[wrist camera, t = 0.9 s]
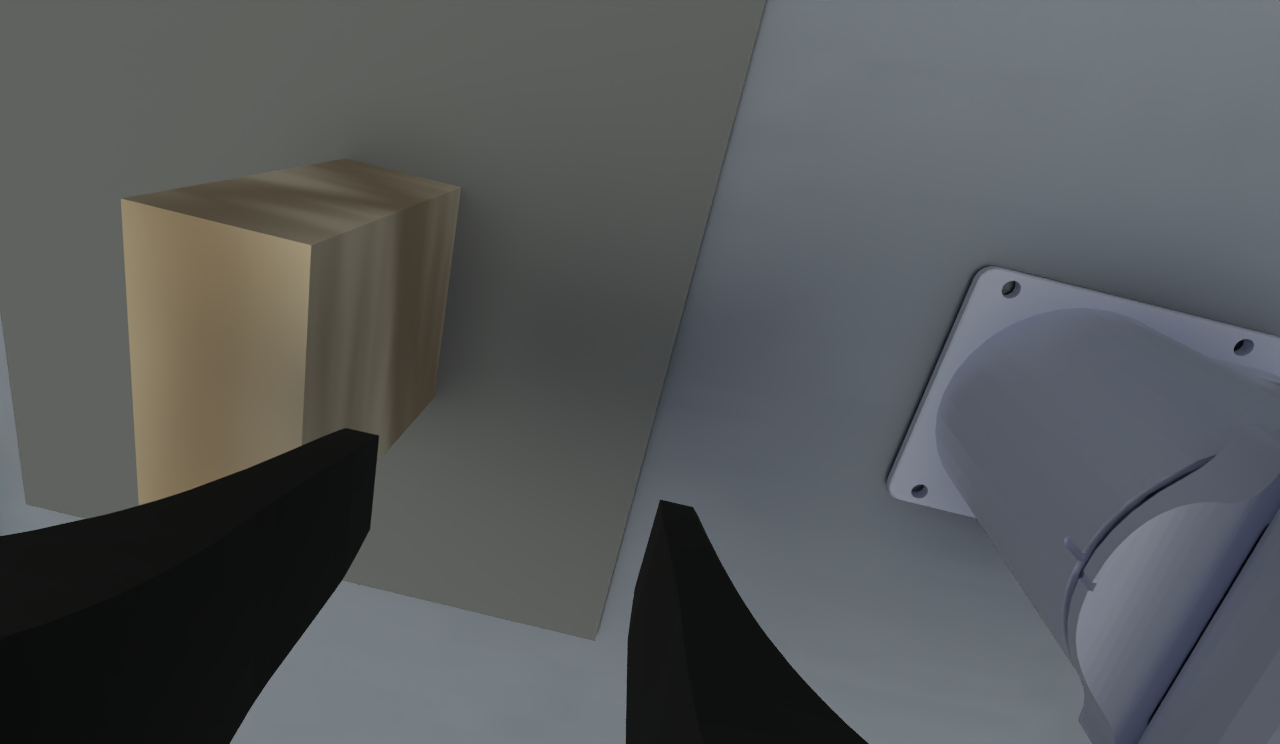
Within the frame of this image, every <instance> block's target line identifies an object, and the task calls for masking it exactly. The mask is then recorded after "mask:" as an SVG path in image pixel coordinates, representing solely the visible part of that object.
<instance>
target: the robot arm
mask: <svg viewBox="0 0 1280 744" xmlns="http://www.w3.org/2000/svg"><path fill="white" fill-rule="evenodd" d="M1009 281H1014V282H1015V288H1014V290H1013V291H1012V292H1011V293H1009V294H1007V295H1003V294H1002V287H1003V286H1004V285H1005V283H1007V282H1009ZM1243 339H1244V343H1243V345H1242V347H1241V348H1240V349H1238V350H1236V351H1234V347H1235V345H1236V344H1237V343H1238V342H1239V341H1241V340H1243ZM378 444H379V435H375V434H370V433H366V432H362V431H357V430H353V429H349V428H344V429H341V430H338V431H335V432H333V433H330V434H328V435H325V436H323V437H320V438H318V439H316V440H313V441H311V442H309V443H306V444H304V445H302V446H299V447H297V448H295V449H292V450H290V451H288V452H285V453H283V454H281V455H278V456H276V457H273V458H271V459H269V460H266V461H264V462H261V463H259V464H257V465H254V466H252V467H249V468H247V469H244V470H242V471H239V472H236V473H234V474H231V475H228V476H226V477H223V478H220V479H217V480H215V481H212V482H209V483H207V484H204V485H201V486H199V487H196V488H193V489H191V490H187V491H184V492H181V493H178V494H175V495H172V496H169V497H166V498H163V499H160V500H156V501H153V502H149V503H146V504H142V505H139V506H135V507H132V508H128V509H125V510H121V511H117V512H113V513H109V514H106V515H101V516H97V517H92V518H88V519H83V520H79V521H74V522H70V523H65V524H61V525H56V526H52V527H47V528H43V529H38V530H33V531H28V532H23V533H17V534H11V535H5V536H0V744H230V742H231V740H232V738H233V737H234V735H235V733H236V732H237V730H238V728H239V727H240V725H241V723H242V722H243V720H244V718H245V716H246V715H247V713H248V711H249V710H250V708H251V706H252V705H253V703H254V702H255V700H256V699H257V697H258V696H259V694H260V693H261V691H262V690H263V688H264V687H265V685H266V684H267V682H268V681H269V680H270V678H271V677H272V675H273V674H274V673H275V671H276V670H277V669H278V667H279V666H280V665H281V663H282V662H283V660H284V659H285V658H286V656H287V655H288V654H289V652H290V651H291V650H292V648H293V647H294V645H295V644H296V643H297V641H298V640H299V639H300V637H301V636H302V635H303V633H304V632H305V631H306V629H307V628H308V626H309V625H310V624H311V622H312V621H313V620H314V618H315V617H316V616H317V614H318V613H319V612H320V610H321V609H322V607H323V606H324V605H325V603H326V602H327V600H328V599H329V598H330V596H331V595H332V594H333V592H334V591H335V589H336V588H337V587H338V585H339V584H340V582H341V581H342V580H343V578H344V577H345V575H346V573H347V571H348V570H349V568H350V566H351V564H352V563H353V561H354V559H355V557H356V555H357V553H358V552H359V550H360V548H361V546H362V544H363V542H364V540H365V538H366V536H367V534H368V533H369V531H370V526H371V516H372V506H373V495H374V485H375V475H376V464H377V454H378ZM918 484H920V485H924V488H923V489H922V490H920V491H918V492H912V488H913V487H914V486H916V485H918ZM887 487H888V490H889V492H890V494H891V495H892V496H893V497H894V498H896V499H899V500H902V501H906V502H911V503H915V504H919V505H923V506H927V507H931V508H935V509H939V510H943V511H947V512H951V513H956V514H960V515H964V516H968V517H972V518H976V519H977V520H978V522H979V523H980V525H981V526H982V528H983V529H984V531H985V532H986V534H987V535H988V537H989V538H990V540H991V541H992V543H993V545H994V546H995V548H996V549H997V551H998V552H999V554H1000V555H1001V557H1002V558H1003V560H1004V561H1005V563H1006V564H1007V566H1008V567H1009V569H1010V570H1011V572H1012V573H1013V575H1014V576H1015V578H1016V580H1017V581H1018V583H1019V584H1020V586H1021V587H1022V589H1023V590H1024V592H1025V593H1026V595H1027V596H1028V598H1029V599H1030V601H1031V602H1032V604H1033V605H1034V607H1035V608H1036V610H1037V612H1038V613H1039V615H1040V616H1041V618H1042V619H1043V621H1044V622H1045V624H1046V625H1047V627H1048V628H1049V630H1050V631H1051V633H1052V634H1053V636H1054V637H1055V639H1056V640H1057V642H1058V644H1059V645H1060V647H1061V648H1062V650H1063V651H1064V653H1065V654H1066V656H1067V657H1068V659H1069V660H1070V662H1071V663H1072V665H1073V666H1074V668H1075V669H1076V671H1077V672H1078V674H1079V677H1080V679H1081V681H1082V684H1083V686H1084V694H1085V699H1084V706H1083V709H1082V711H1081V714H1080V716H1079V722H1080V724H1081V726H1082V727H1083V729H1084V731H1085V732H1086V734H1087V735H1088V737H1089V739H1090V740H1091V742H1092V744H1280V337H1278V336H1275V335H1271V334H1267V333H1263V332H1259V331H1255V330H1251V329H1247V328H1243V327H1239V326H1235V325H1231V324H1227V323H1223V322H1219V321H1215V320H1211V319H1207V318H1203V317H1198V316H1194V315H1190V314H1186V313H1182V312H1178V311H1174V310H1170V309H1166V308H1162V307H1158V306H1154V305H1150V304H1146V303H1142V302H1138V301H1134V300H1130V299H1126V298H1122V297H1118V296H1114V295H1110V294H1106V293H1102V292H1098V291H1094V290H1090V289H1086V288H1082V287H1078V286H1074V285H1070V284H1066V283H1062V282H1058V281H1054V280H1050V279H1046V278H1042V277H1038V276H1034V275H1030V274H1026V273H1022V272H1018V271H1014V270H1010V269H1006V268H1002V267H998V266H988V267H985V268H983V269H982V270H980V271H979V272H978V273H977V274H976V275H975V277H974V278H973V281H972V283H971V285H970V288H969V290H968V292H967V295H966V297H965V299H964V302H963V304H962V306H961V309H960V311H959V313H958V316H957V318H956V320H955V323H954V325H953V327H952V330H951V332H950V334H949V337H948V339H947V341H946V344H945V346H944V348H943V351H942V353H941V355H940V358H939V360H938V362H937V365H936V367H935V369H934V372H933V374H932V376H931V379H930V381H929V383H928V385H927V388H926V390H925V392H924V395H923V397H922V399H921V402H920V404H919V406H918V409H917V411H916V413H915V416H914V418H913V420H912V423H911V425H910V427H909V430H908V432H907V434H906V437H905V439H904V441H903V444H902V446H901V448H900V451H899V453H898V455H897V458H896V460H895V462H894V465H893V467H892V469H891V472H890V474H889V476H888V479H887ZM626 744H868V743H867V742H866V741H865V740H864V739H863V738H862V737H860V736H859V735H858V734H857V733H856V732H855V731H854V730H853V729H851V728H850V727H849V726H848V725H847V724H846V723H845V722H844V721H843V720H842V719H841V718H840V717H839V716H838V715H837V714H836V713H835V712H834V711H833V710H832V709H831V708H830V707H829V706H828V705H827V704H826V703H825V702H824V701H823V700H822V699H821V698H820V697H819V696H818V695H817V694H816V693H815V692H814V691H813V690H812V688H811V687H810V686H809V685H808V684H807V683H806V682H805V681H804V680H803V679H802V678H801V677H800V676H799V674H798V673H797V672H796V671H795V670H794V669H793V668H792V666H791V665H790V664H789V663H788V662H787V660H786V659H785V658H784V657H783V655H782V654H781V653H780V652H779V650H778V649H777V648H776V647H775V645H774V644H773V643H772V642H771V640H770V639H769V638H768V637H767V635H766V634H765V632H764V631H763V630H762V628H761V627H760V626H759V624H758V623H757V621H756V620H755V618H754V617H753V615H752V614H751V612H750V611H749V609H748V608H747V606H746V605H745V603H744V602H743V600H742V598H741V597H740V595H739V593H738V592H737V590H736V588H735V587H734V585H733V583H732V581H731V580H730V578H729V576H728V574H727V573H726V571H725V569H724V567H723V566H722V564H721V562H720V560H719V558H718V556H717V554H716V552H715V550H714V548H713V546H712V544H711V542H710V540H709V538H708V536H707V534H706V532H705V530H704V528H703V526H702V524H701V522H700V519H699V517H698V515H697V513H696V512H695V510H694V508H693V507H690V506H685V505H681V504H676V503H672V502H668V501H663V500H660V502H659V506H658V509H657V513H656V516H655V520H654V523H653V527H652V530H651V534H650V537H649V541H648V544H647V548H646V551H645V555H644V558H643V562H642V565H641V569H640V572H639V576H638V579H637V583H636V586H635V591H634V598H633V605H632V612H631V619H630V627H629V635H628V656H627V709H626Z"/></svg>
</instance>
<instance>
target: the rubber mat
mask: <svg viewBox="0 0 1280 744" xmlns="http://www.w3.org/2000/svg"><path fill="white" fill-rule="evenodd" d="M765 3H766V0H0V312H1V319H2V327H3V334H4V342H5V349H6V357H7V364H8V372H9V379H10V387H11V394H12V402H13V409H14V417H15V424H16V432H17V439H18V447H19V454H20V462H21V469H22V477H23V484H24V492H25V499H26V504H27V505H32V506H36V507H40V508H44V509H48V510H52V511H57V512H61V513H65V514H69V515H73V516H77V517H82V518H86V519H88V518H92V517H97V516H101V515H106V514H109V513H113V512H117V511H121V510H125V509H128V508H132V507H135V506H139V501H138V483H137V466H136V449H135V432H134V415H133V398H132V381H131V364H130V347H129V330H128V313H127V296H126V279H125V262H124V245H123V228H122V211H121V198H126V197H132V196H137V195H143V194H149V193H154V192H160V191H165V190H171V189H177V188H182V187H188V186H193V185H199V184H205V183H210V182H216V181H221V180H227V179H233V178H238V177H244V176H250V175H255V174H261V173H266V172H272V171H278V170H283V169H289V168H294V167H300V166H306V165H311V164H317V163H322V162H328V161H334V160H339V159H349V160H353V161H357V162H361V163H365V164H369V165H373V166H377V167H381V168H385V169H389V170H393V171H397V172H401V173H405V174H409V175H413V176H417V177H421V178H425V179H429V180H433V181H437V182H441V183H446V184H450V185H454V186H458V187H461V192H460V200H459V208H458V216H457V223H456V231H455V239H454V247H453V255H452V262H451V270H450V278H449V286H448V294H447V302H446V309H445V317H444V325H443V333H442V341H441V348H440V356H439V364H438V372H437V380H436V388H435V395H434V399H433V400H432V401H431V402H430V403H429V404H428V405H427V407H426V408H425V409H424V410H423V411H422V412H421V413H420V415H419V416H418V417H417V418H416V419H415V420H414V421H413V423H412V424H411V425H410V426H409V427H408V428H407V429H406V431H405V432H404V433H403V434H402V435H401V436H400V437H399V439H398V440H397V441H396V442H395V443H394V444H393V445H392V447H391V448H390V449H389V450H388V451H387V452H386V453H385V455H384V456H383V457H382V458H381V459H380V460H379V461H378V463H377V464H376V475H375V485H374V495H373V506H372V516H371V526H370V531H369V533H368V534H367V536H366V538H365V540H364V542H363V544H362V546H361V548H360V550H359V552H358V553H357V555H356V557H355V559H354V561H353V563H352V564H351V566H350V568H349V570H348V571H347V573H346V575H345V577H344V578H343V580H344V581H348V582H352V583H356V584H361V585H365V586H369V587H373V588H377V589H381V590H386V591H390V592H394V593H398V594H402V595H406V596H410V597H415V598H419V599H423V600H427V601H431V602H435V603H440V604H444V605H448V606H452V607H456V608H460V609H465V610H469V611H473V612H477V613H481V614H485V615H490V616H494V617H498V618H502V619H506V620H510V621H515V622H519V623H523V624H527V625H531V626H535V627H540V628H544V629H548V630H552V631H556V632H560V633H565V634H569V635H573V636H577V637H581V638H585V639H590V640H594V641H595V638H596V635H597V631H598V627H599V623H600V620H601V616H602V612H603V608H604V605H605V601H606V597H607V594H608V590H609V586H610V582H611V579H612V575H613V571H614V567H615V564H616V560H617V556H618V552H619V549H620V545H621V541H622V537H623V534H624V530H625V526H626V522H627V519H628V515H629V511H630V508H631V504H632V500H633V496H634V493H635V489H636V485H637V481H638V478H639V474H640V470H641V466H642V463H643V459H644V455H645V451H646V448H647V444H648V440H649V437H650V433H651V429H652V425H653V422H654V418H655V414H656V410H657V407H658V403H659V399H660V395H661V392H662V388H663V384H664V380H665V377H666V373H667V369H668V366H669V362H670V358H671V354H672V351H673V347H674V343H675V339H676V336H677V332H678V328H679V324H680V321H681V317H682V313H683V309H684V306H685V302H686V298H687V295H688V291H689V287H690V283H691V280H692V276H693V272H694V268H695V265H696V261H697V257H698V253H699V250H700V246H701V242H702V238H703V235H704V231H705V227H706V224H707V220H708V216H709V212H710V209H711V205H712V201H713V197H714V194H715V190H716V186H717V182H718V179H719V175H720V171H721V167H722V164H723V160H724V156H725V153H726V149H727V145H728V141H729V138H730V134H731V130H732V126H733V123H734V119H735V115H736V111H737V108H738V104H739V100H740V96H741V93H742V89H743V85H744V81H745V78H746V74H747V70H748V67H749V63H750V59H751V55H752V52H753V48H754V44H755V40H756V37H757V33H758V29H759V25H760V22H761V18H762V14H763V10H764V7H765Z"/></svg>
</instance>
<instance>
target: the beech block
mask: <svg viewBox="0 0 1280 744" xmlns="http://www.w3.org/2000/svg"><path fill="white" fill-rule="evenodd" d="M460 192H461V187H458V186H454V185H450V184H446V183H441V182H437V181H433V180H429V179H425V178H421V177H417V176H413V175H409V174H405V173H401V172H397V171H393V170H389V169H385V168H381V167H377V166H373V165H369V164H365V163H361V162H357V161H353V160H349V159H339V160H334V161H328V162H322V163H317V164H311V165H306V166H300V167H294V168H289V169H283V170H278V171H272V172H266V173H261V174H255V175H250V176H244V177H238V178H233V179H227V180H221V181H216V182H210V183H205V184H199V185H193V186H188V187H182V188H177V189H171V190H165V191H160V192H154V193H149V194H143V195H137V196H132V197H126V198H121V211H122V228H123V245H124V262H125V279H126V296H127V313H128V330H129V347H130V364H131V381H132V398H133V415H134V432H135V449H136V466H137V483H138V501H139V505H142V504H146V503H149V502H153V501H156V500H160V499H163V498H166V497H169V496H172V495H175V494H178V493H181V492H184V491H187V490H191V489H193V488H196V487H199V486H201V485H204V484H207V483H209V482H212V481H215V480H217V479H220V478H223V477H226V476H228V475H231V474H234V473H236V472H239V471H242V470H244V469H247V468H249V467H252V466H254V465H257V464H259V463H261V462H264V461H266V460H269V459H271V458H273V457H276V456H278V455H281V454H283V453H285V452H288V451H290V450H292V449H295V448H297V447H299V446H302V445H304V444H306V443H309V442H311V441H313V440H316V439H318V438H320V437H323V436H325V435H328V434H330V433H333V432H335V431H338V430H341V429H344V428H349V429H353V430H357V431H362V432H366V433H370V434H375V435H379V444H378V454H377V463H378V461H379V460H380V459H381V458H382V457H383V456H384V455H385V453H386V452H387V451H388V450H389V449H390V448H391V447H392V445H393V444H394V443H395V442H396V441H397V440H398V439H399V437H400V436H401V435H402V434H403V433H404V432H405V431H406V429H407V428H408V427H409V426H410V425H411V424H412V423H413V421H414V420H415V419H416V418H417V417H418V416H419V415H420V413H421V412H422V411H423V410H424V409H425V408H426V407H427V405H428V404H429V403H430V402H431V401H432V400H433V399H434V395H435V388H436V380H437V372H438V364H439V356H440V348H441V341H442V333H443V325H444V317H445V309H446V302H447V294H448V286H449V278H450V270H451V262H452V255H453V247H454V239H455V231H456V223H457V216H458V208H459V200H460Z"/></svg>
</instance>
